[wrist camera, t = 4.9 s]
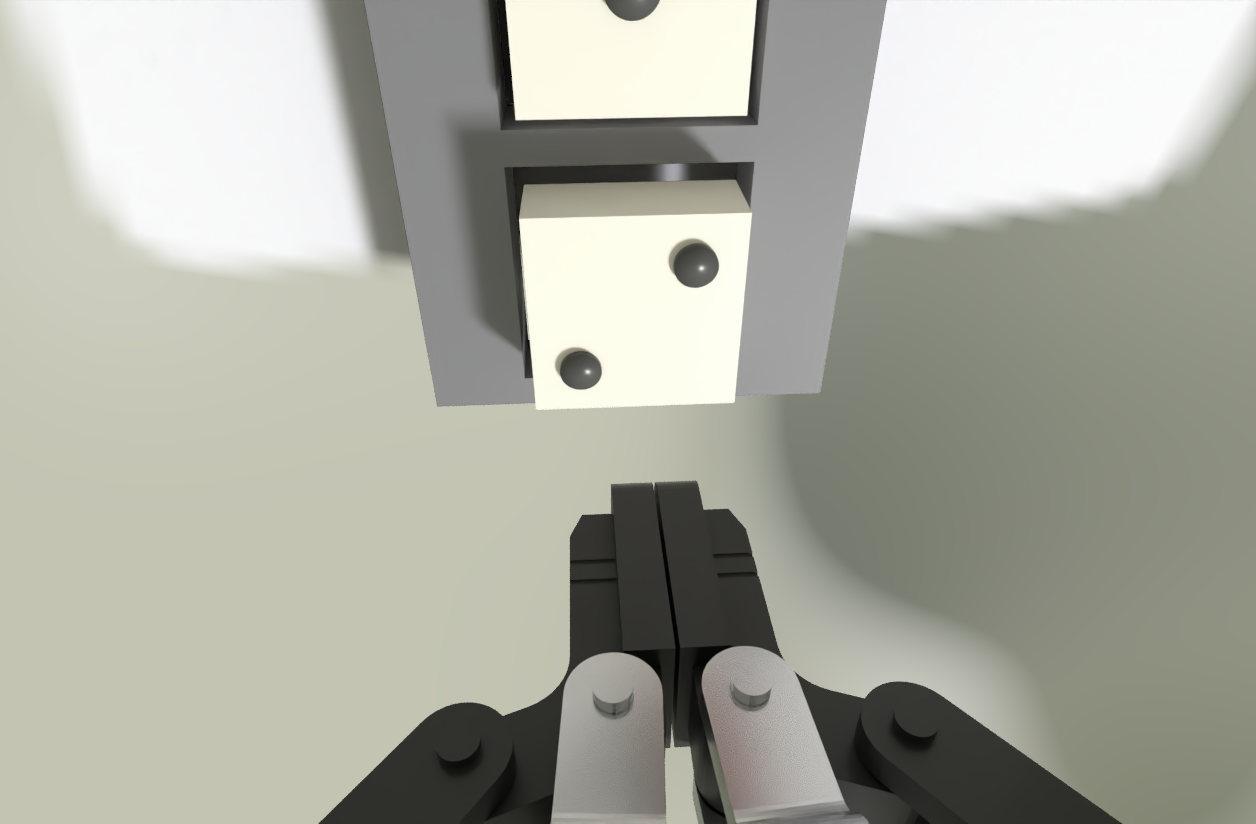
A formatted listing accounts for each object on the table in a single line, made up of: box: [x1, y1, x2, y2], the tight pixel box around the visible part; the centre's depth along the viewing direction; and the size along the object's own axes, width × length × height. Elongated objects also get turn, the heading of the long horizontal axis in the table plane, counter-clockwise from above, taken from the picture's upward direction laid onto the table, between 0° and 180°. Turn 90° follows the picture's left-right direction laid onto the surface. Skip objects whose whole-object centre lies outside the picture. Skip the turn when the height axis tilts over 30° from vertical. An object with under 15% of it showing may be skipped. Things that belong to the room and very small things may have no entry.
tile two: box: [519, 180, 752, 410], centre depth 23 cm, size 6×6×3 cm
